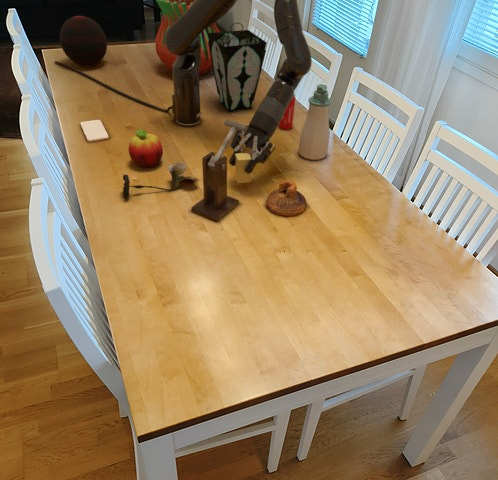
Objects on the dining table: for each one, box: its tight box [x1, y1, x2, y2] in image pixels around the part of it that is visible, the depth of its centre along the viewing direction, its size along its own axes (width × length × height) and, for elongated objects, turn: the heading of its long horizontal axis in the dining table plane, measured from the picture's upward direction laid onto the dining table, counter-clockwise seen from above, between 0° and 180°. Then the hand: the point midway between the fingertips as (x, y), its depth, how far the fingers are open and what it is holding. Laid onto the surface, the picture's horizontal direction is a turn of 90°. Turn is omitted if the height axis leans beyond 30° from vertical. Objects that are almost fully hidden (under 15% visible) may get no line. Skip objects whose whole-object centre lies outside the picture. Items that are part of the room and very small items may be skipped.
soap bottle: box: [298, 83, 332, 161], centre depth 149 cm, size 10×10×23 cm
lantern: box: [207, 22, 268, 113], centre depth 174 cm, size 17×17×30 cm
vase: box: [155, 0, 220, 76], centre depth 202 cm, size 30×30×30 cm
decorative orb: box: [59, 15, 108, 67], centre depth 206 cm, size 20×20×20 cm
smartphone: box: [80, 119, 110, 143], centre depth 163 cm, size 7×1×15 cm
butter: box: [234, 152, 252, 184], centre depth 135 cm, size 4×4×8 cm
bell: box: [265, 180, 308, 217], centre depth 131 cm, size 12×12×7 cm
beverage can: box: [278, 93, 296, 131], centre depth 168 cm, size 5×5×12 cm
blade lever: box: [208, 119, 248, 170], centre depth 122 cm, size 14×7×2 cm
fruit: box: [128, 128, 164, 168], centre depth 145 cm, size 11×11×10 cm
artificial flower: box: [122, 161, 199, 199], centre depth 135 cm, size 9×22×10 cm, turn 108°
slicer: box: [190, 151, 240, 223], centre depth 126 cm, size 11×9×16 cm
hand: (239, 168), depth 134 cm, fingers closed on butter, 5 cm apart
